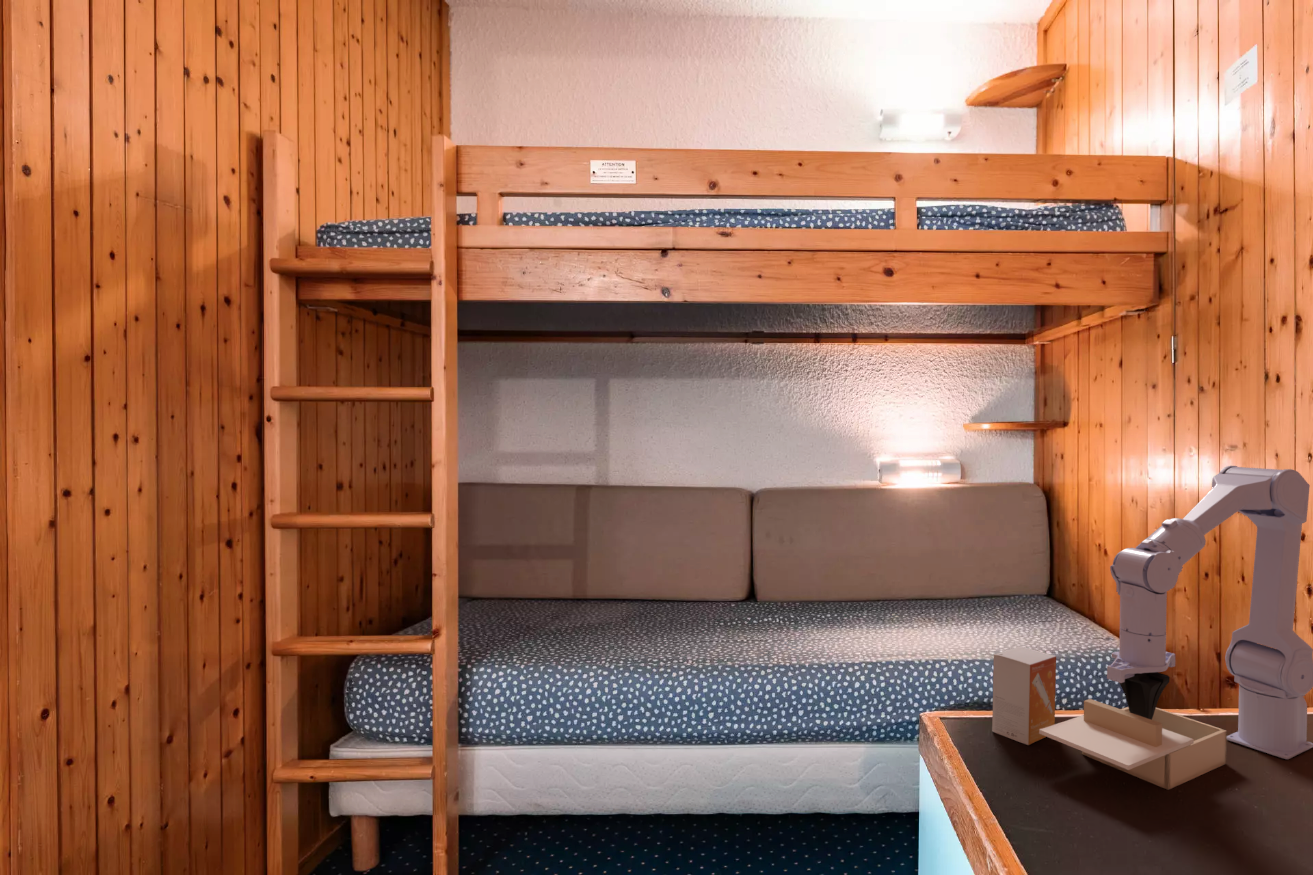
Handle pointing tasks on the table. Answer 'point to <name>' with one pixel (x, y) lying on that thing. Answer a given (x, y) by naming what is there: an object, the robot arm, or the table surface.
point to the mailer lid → (1116, 735)
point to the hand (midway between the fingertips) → (1141, 720)
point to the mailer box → (1181, 752)
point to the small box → (1023, 693)
